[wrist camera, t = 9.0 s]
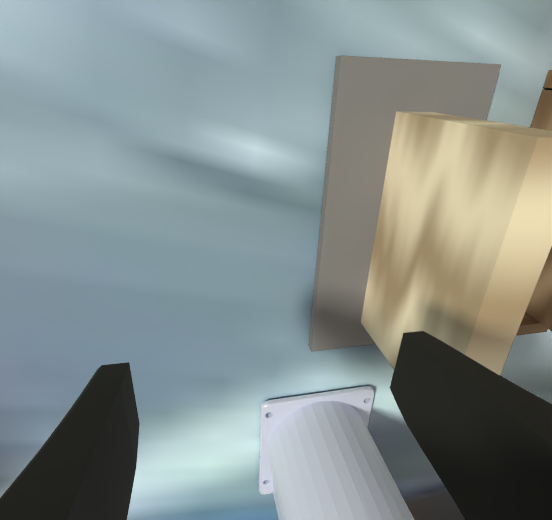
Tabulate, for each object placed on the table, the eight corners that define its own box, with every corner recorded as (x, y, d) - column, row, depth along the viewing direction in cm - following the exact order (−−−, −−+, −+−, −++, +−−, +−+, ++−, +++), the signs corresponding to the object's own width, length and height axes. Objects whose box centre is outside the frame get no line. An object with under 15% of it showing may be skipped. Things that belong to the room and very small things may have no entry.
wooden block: (390, 319, 23) (479, 425, 16) (360, 322, 23) (438, 433, 16) (434, 112, 18) (595, 137, 11) (396, 111, 17) (538, 136, 10)
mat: (422, 332, 25) (427, 337, 25) (308, 345, 23) (311, 351, 23) (492, 64, 18) (501, 64, 17) (336, 56, 16) (341, 55, 16)
